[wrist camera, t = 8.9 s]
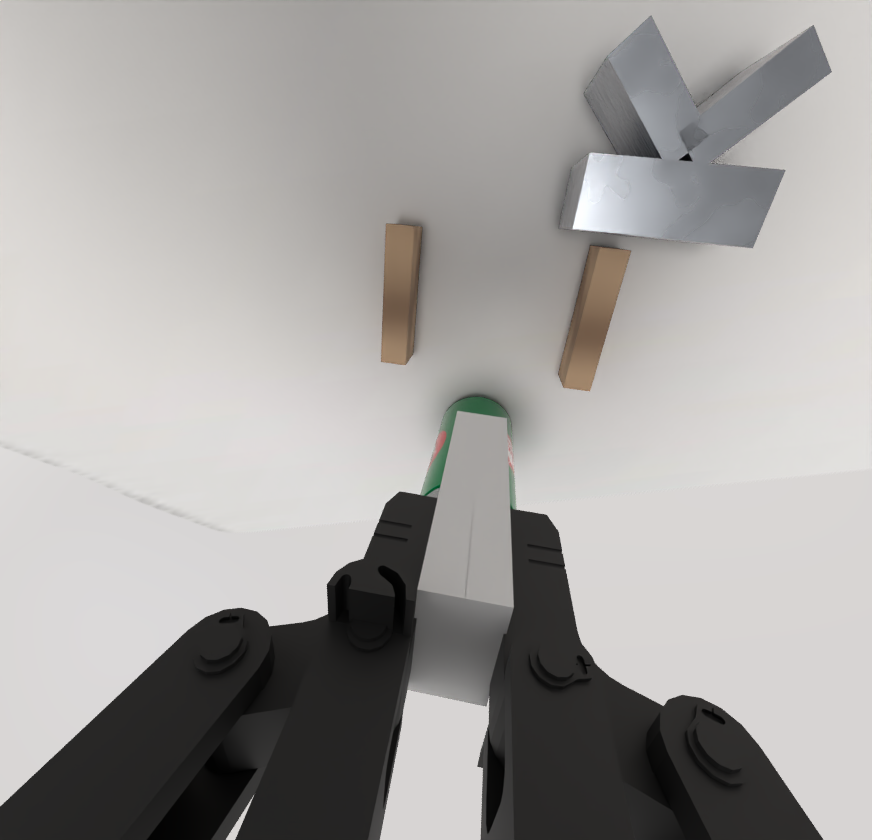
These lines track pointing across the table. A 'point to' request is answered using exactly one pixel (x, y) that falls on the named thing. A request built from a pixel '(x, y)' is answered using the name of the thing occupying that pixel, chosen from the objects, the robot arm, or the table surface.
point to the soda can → (444, 438)
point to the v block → (682, 144)
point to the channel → (585, 326)
